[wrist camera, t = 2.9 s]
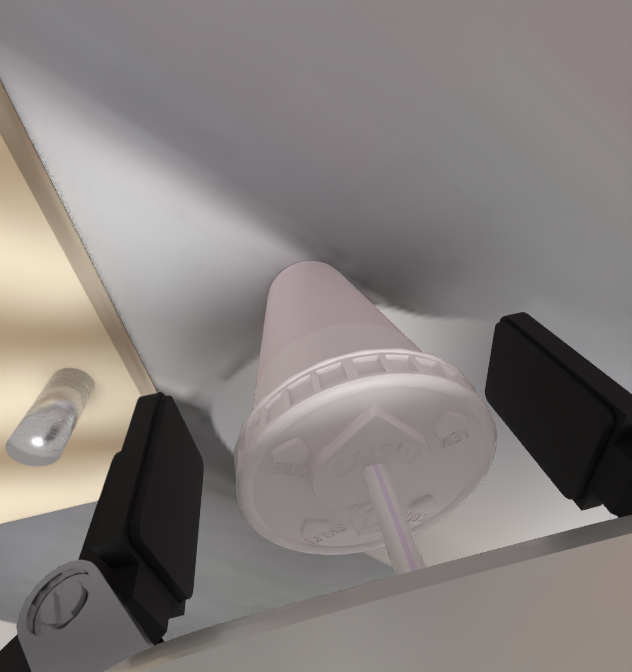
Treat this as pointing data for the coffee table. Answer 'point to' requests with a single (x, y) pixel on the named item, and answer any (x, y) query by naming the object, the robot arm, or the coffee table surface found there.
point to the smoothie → (353, 427)
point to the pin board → (54, 346)
